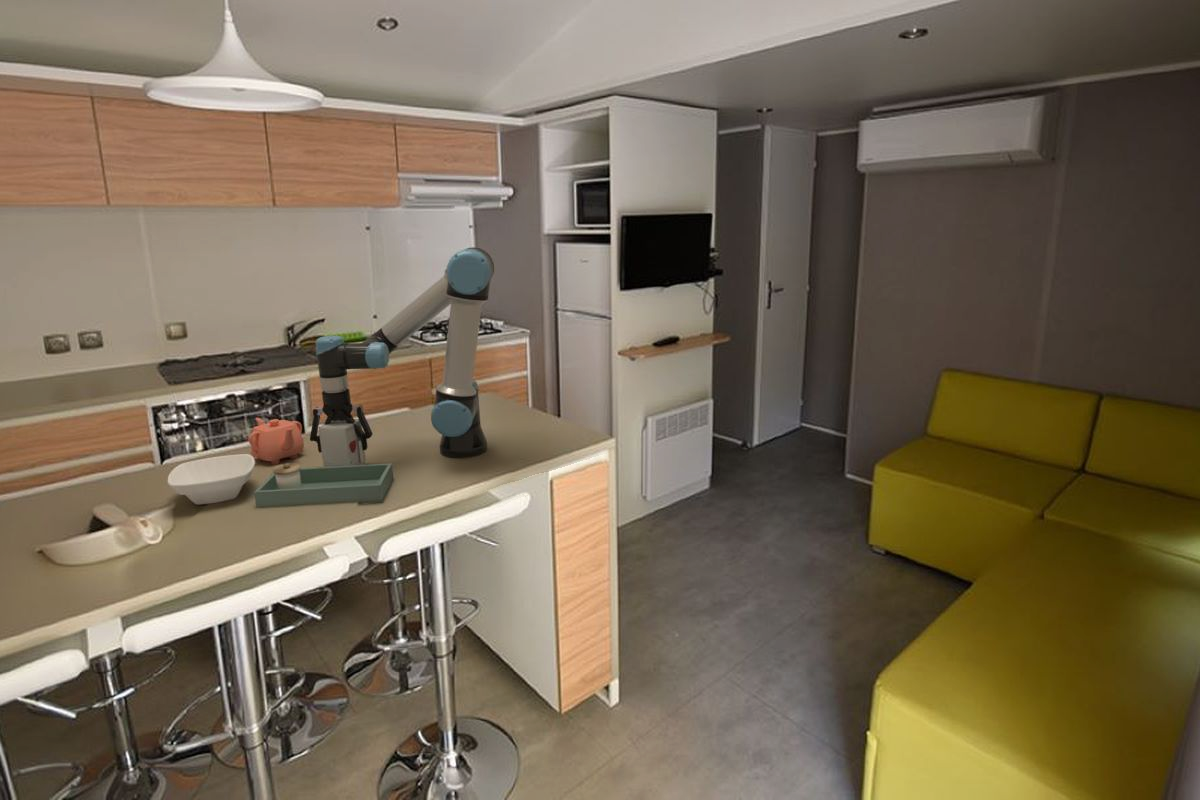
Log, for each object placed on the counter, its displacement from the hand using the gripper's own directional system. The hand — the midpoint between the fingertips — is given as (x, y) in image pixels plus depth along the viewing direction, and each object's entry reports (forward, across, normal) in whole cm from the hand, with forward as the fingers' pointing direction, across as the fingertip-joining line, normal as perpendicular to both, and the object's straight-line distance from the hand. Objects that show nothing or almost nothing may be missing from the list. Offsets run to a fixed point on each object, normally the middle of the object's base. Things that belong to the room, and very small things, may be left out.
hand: (344, 461), depth 201 cm
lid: (-5, +10, +18) cm, 21 cm away
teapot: (+3, +24, -14) cm, 28 cm away
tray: (+3, 0, +18) cm, 18 cm away
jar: (+2, +10, +18) cm, 21 cm away
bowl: (+3, +30, +16) cm, 34 cm away
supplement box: (+3, 0, 0) cm, 3 cm away
